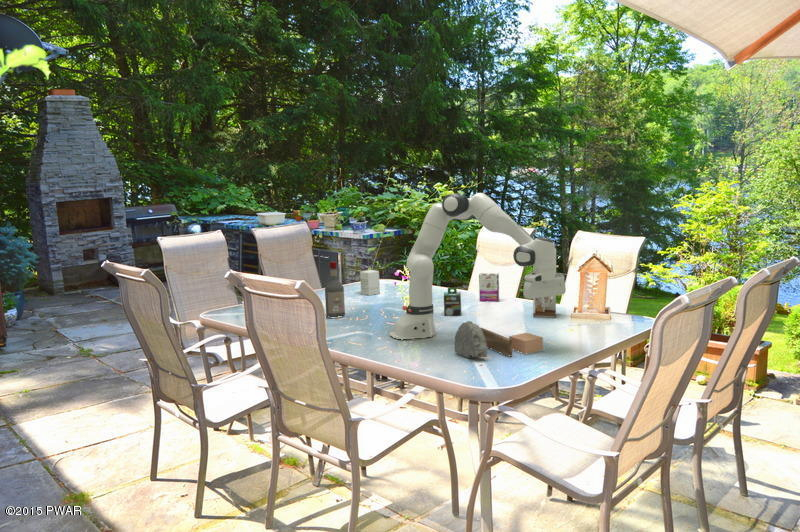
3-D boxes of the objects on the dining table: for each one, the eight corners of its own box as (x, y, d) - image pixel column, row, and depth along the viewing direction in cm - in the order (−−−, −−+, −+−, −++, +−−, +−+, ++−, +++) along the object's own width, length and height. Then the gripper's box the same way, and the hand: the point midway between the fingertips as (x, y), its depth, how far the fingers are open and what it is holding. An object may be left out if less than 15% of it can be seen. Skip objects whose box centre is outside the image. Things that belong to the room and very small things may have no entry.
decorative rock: (452, 353, 268) (452, 319, 266) (465, 350, 271) (464, 317, 269) (477, 362, 254) (476, 326, 252) (489, 359, 258) (489, 324, 255)
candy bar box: (499, 300, 372) (499, 273, 369) (498, 302, 367) (498, 274, 365) (480, 299, 375) (480, 272, 373) (479, 301, 370) (478, 274, 368)
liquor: (346, 317, 341) (343, 262, 336) (329, 319, 338) (327, 264, 333) (341, 313, 349) (338, 260, 345) (325, 315, 346) (322, 261, 341)
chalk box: (461, 312, 345) (460, 285, 342) (461, 315, 336) (460, 288, 333) (444, 312, 346) (443, 285, 343) (443, 316, 337) (443, 288, 334)
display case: (533, 317, 327) (533, 251, 322) (533, 313, 337) (533, 248, 332) (555, 318, 324) (556, 251, 319) (555, 313, 334) (556, 248, 329)
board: (507, 356, 261) (507, 340, 260) (477, 343, 282) (477, 328, 281) (511, 356, 262) (511, 339, 261) (481, 342, 283) (481, 327, 282)
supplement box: (371, 292, 409) (370, 269, 407) (380, 293, 402) (379, 270, 400) (360, 294, 404) (359, 271, 401) (368, 296, 397) (368, 272, 394)
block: (525, 355, 263) (525, 341, 262) (509, 349, 272) (509, 336, 271) (542, 350, 268) (542, 337, 268) (526, 345, 277) (526, 332, 276)
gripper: (559, 271, 277) (559, 302, 279) (521, 276, 269) (521, 308, 271) (568, 273, 271) (568, 304, 273) (530, 278, 263) (530, 310, 265)
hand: (544, 306), depth 272 cm, fingers closed
